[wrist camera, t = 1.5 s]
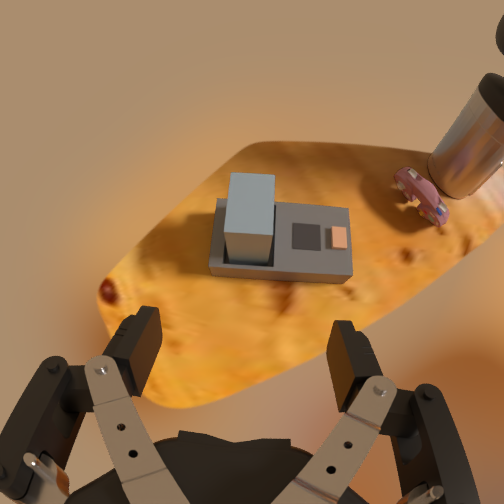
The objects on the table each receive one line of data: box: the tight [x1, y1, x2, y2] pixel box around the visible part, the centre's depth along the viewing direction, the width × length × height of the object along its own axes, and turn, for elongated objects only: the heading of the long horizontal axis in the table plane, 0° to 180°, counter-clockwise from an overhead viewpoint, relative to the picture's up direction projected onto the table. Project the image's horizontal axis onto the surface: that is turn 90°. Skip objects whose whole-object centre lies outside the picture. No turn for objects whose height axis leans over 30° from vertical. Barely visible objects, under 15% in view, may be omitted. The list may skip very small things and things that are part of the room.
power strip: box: [208, 198, 353, 284], centre depth 32 cm, size 15×8×4 cm, turn 86°
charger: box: [224, 172, 275, 267], centre depth 29 cm, size 4×6×8 cm, turn 176°
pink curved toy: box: [394, 167, 449, 227], centre depth 34 cm, size 10×5×7 cm, turn 36°
